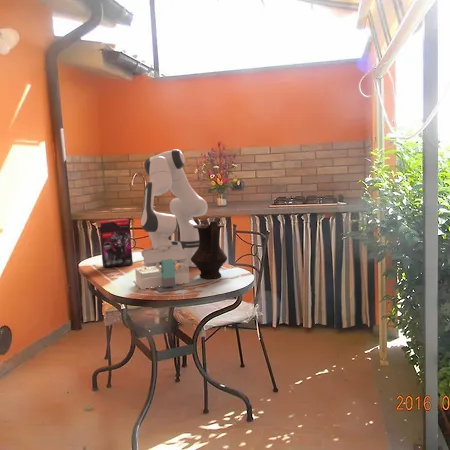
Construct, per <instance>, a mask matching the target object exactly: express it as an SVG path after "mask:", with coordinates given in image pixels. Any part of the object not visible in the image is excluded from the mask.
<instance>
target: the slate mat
mask: <svg viewBox="0 0 450 450" xmlns="http://www.w3.org/2000/svg"><path fill="white" fill-rule="evenodd" d="M153 289H155V290H156V289H157V290H158V291H159V292H160V293H163V292H162V291H167V292H170V291H169V290H174V291H176V290H175V289H181V290H185V287H183V286H182V284H175V286H169V287H164V286H160V287H154V288H153ZM157 290H156V291H157ZM158 291H157V292H158ZM159 292H158V293H159Z"/></svg>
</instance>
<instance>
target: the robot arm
mask: <svg viewBox="0 0 450 450" xmlns="http://www.w3.org/2000/svg"><path fill="white" fill-rule="evenodd" d="M185 164H186V159H185V156H184V153H183V152H182V151H181V150H180V149H172V150H168V151H162V152H161V153H159V154H156V155H153V156H151V157H148V158H146V159H145V161H144V164H143V166H144V170H145V173H146V174H147V175H148V176H149V182H147V183H146V185H145V187H144V190H143V198H142V199H143V200H142V212H141V216H140V226H141V228H142V229H143V230H144V231H145V232H146V233H148V237H149V239H150V242H151V243H150V244H151V245H150V246H151V248H145V249H143V250H142V251H141V256H142V257H143V265H144V266H145V267H146V268H149V267H151V268H152V267H155V269H157V270H158V271H160V273H162V272H163V268H161V260H167V259H172V260H174V270H175V271H176V269H177V264H178V265H179V266H180V267H181V264H180V263H183V264H184V265H186V266H188V267H192V268H193V267H194V268H197V266H196V265H195V264H194V263H193V262H192V261H191V258H192V256H193V255H194V253H195V252H196V251H197V249H198V247H199V244H200V243H199V242H200V241H199V233H198V229H197V228H194V227H193V226H194V225H198V224H197V222H195V220H194V218H196V217H197V218H198V217H202V216H204V215H206V214H207V212H208V207H209V206H208V202H207V201H206V200H205V199H204V198H202V197H201V196H200V195H198V193H197V192H196V191H195V190H194V189H193V187H192V186H191V184H190V182H189V180H188V177H187V175H186V173H185V171H184V169H183V167H184V166H185ZM169 190H170V192H171V193H172V195H173V196H175V198H172V200H170V202H169V211H170V213H165V212H158V211H155V209H154V202H155V201H154V200H155V196H159V195H164V194H166V193H168V191H169ZM171 213H172V214H171ZM193 217H194V218H193ZM178 229H179V234H180V236H179V237H180V238H179V239H180V240H179V241H175V240H170V239H169V237H172V235H173V234H174V233H176V231H177V230H178Z"/></svg>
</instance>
